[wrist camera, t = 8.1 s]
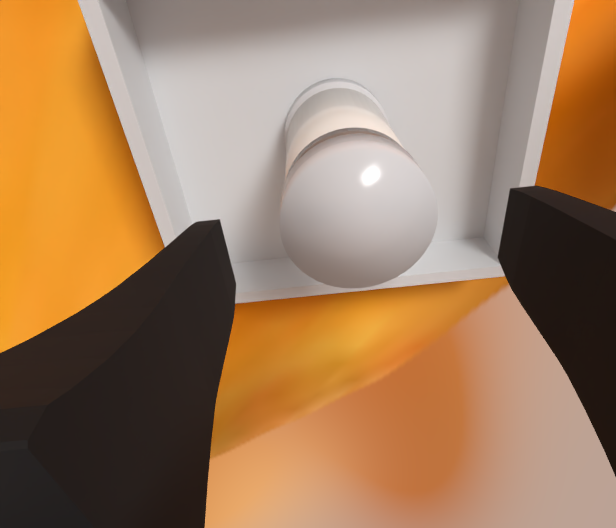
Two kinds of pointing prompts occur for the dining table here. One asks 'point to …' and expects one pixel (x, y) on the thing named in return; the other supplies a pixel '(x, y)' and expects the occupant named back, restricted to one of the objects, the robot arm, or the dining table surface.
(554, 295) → the robot arm
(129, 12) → the parts tray
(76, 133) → the dining table surface
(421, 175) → the cylinder
